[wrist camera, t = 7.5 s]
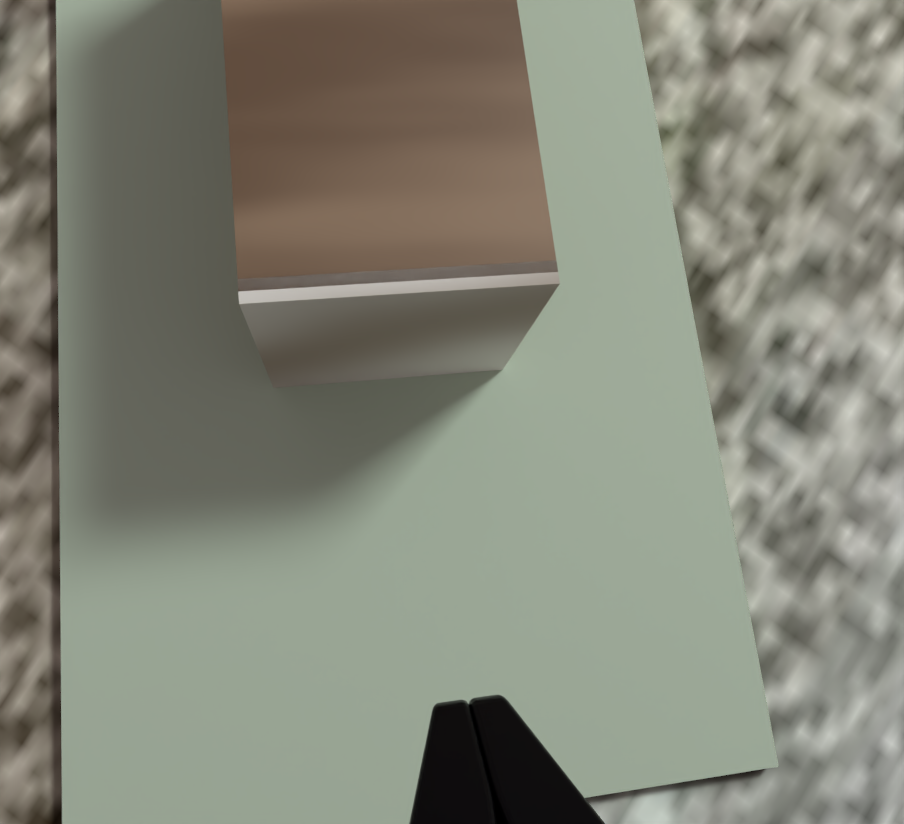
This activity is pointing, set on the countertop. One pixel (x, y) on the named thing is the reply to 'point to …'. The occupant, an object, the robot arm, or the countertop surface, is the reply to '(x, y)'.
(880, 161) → the countertop surface
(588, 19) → the mat
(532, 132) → the block
